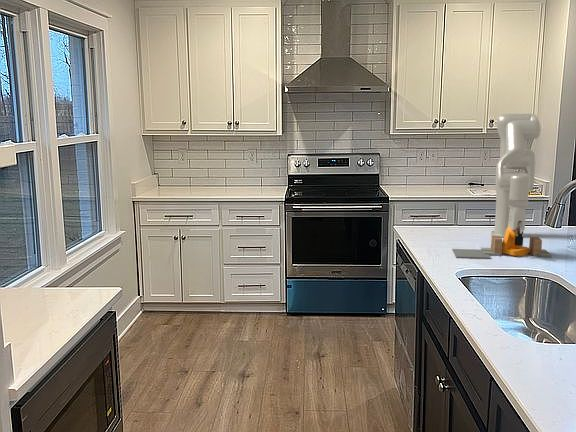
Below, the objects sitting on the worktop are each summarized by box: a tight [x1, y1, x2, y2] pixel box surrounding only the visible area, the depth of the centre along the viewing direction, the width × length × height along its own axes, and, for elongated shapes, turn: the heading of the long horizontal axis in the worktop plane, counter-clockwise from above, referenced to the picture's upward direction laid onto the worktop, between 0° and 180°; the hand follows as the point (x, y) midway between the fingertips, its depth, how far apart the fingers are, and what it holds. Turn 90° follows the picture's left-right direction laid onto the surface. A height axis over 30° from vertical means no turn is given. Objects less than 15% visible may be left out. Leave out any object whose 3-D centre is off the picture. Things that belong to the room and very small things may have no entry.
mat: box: [452, 248, 492, 260], centre depth 242 cm, size 14×14×1 cm
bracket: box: [501, 226, 531, 258], centre depth 241 cm, size 11×7×12 cm, turn 118°
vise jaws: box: [480, 234, 553, 258], centre depth 242 cm, size 10×27×7 cm, turn 80°
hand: (516, 242), depth 242 cm, fingers open, 9 cm apart
